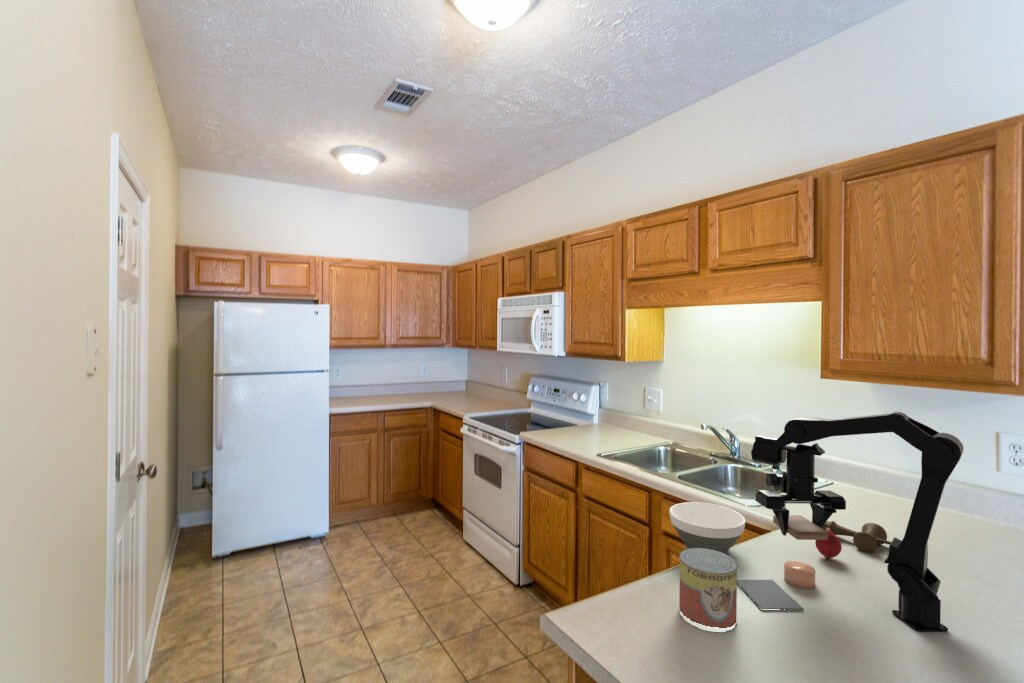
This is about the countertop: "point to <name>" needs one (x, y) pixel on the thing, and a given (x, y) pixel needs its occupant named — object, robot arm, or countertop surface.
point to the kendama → (861, 535)
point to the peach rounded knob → (799, 574)
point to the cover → (803, 528)
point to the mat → (768, 595)
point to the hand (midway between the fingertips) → (799, 535)
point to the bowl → (707, 525)
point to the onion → (829, 545)
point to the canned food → (708, 587)
